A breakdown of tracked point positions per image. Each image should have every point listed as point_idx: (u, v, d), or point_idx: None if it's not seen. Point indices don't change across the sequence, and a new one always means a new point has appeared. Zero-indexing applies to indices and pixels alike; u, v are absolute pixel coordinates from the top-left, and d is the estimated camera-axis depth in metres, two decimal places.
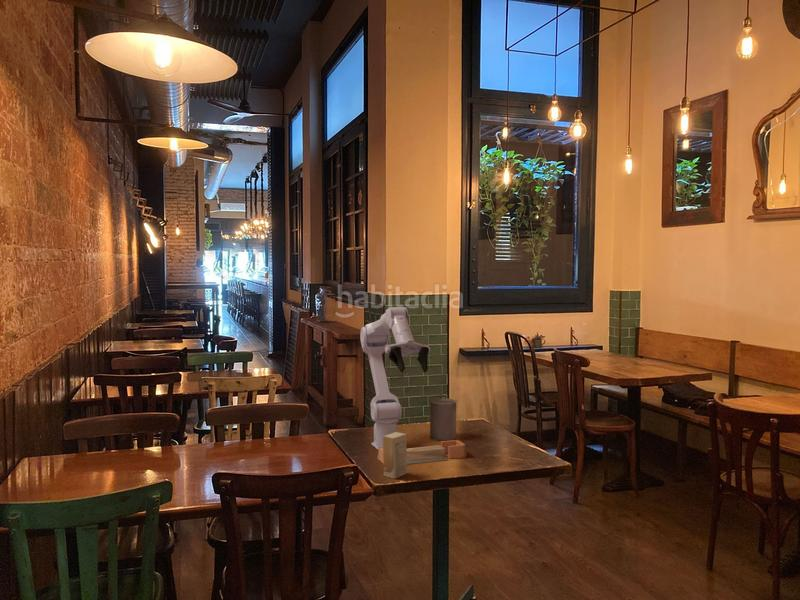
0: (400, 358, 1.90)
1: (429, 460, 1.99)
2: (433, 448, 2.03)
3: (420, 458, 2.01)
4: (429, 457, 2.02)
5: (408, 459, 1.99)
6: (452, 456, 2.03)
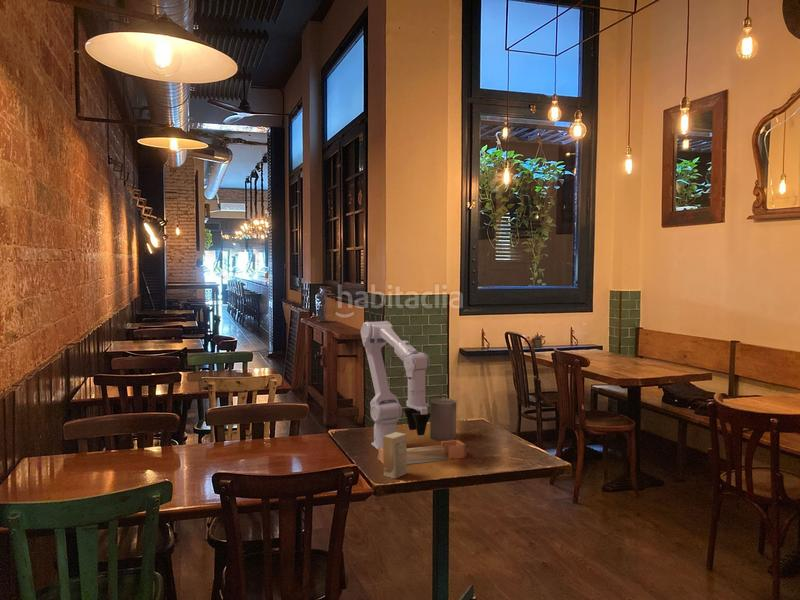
0: None
1: (429, 460, 1.99)
2: (433, 448, 2.03)
3: (420, 458, 2.01)
4: (429, 457, 2.02)
5: (408, 459, 1.99)
6: (452, 456, 2.03)
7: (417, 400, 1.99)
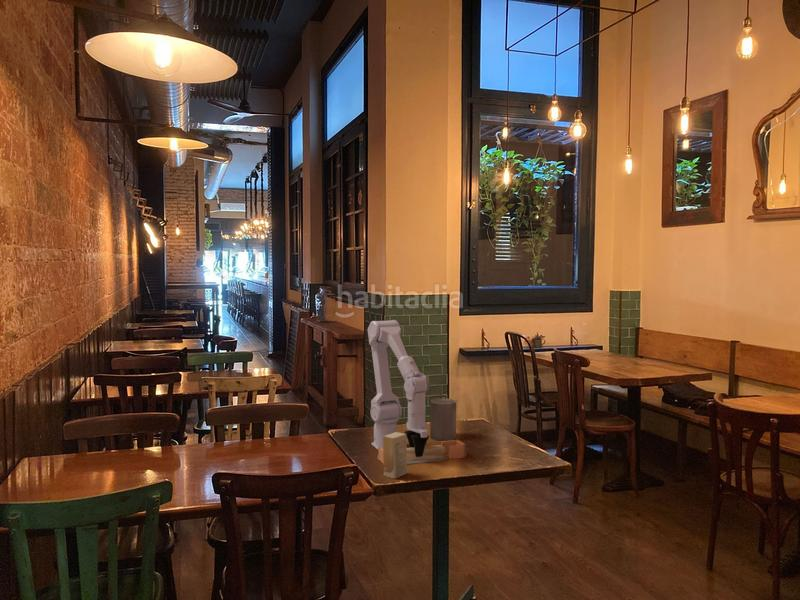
0: None
1: (429, 460, 1.99)
2: (433, 448, 2.03)
3: (420, 457, 2.01)
4: (429, 457, 2.02)
5: (408, 458, 2.00)
6: (452, 456, 2.03)
7: (417, 423, 1.99)
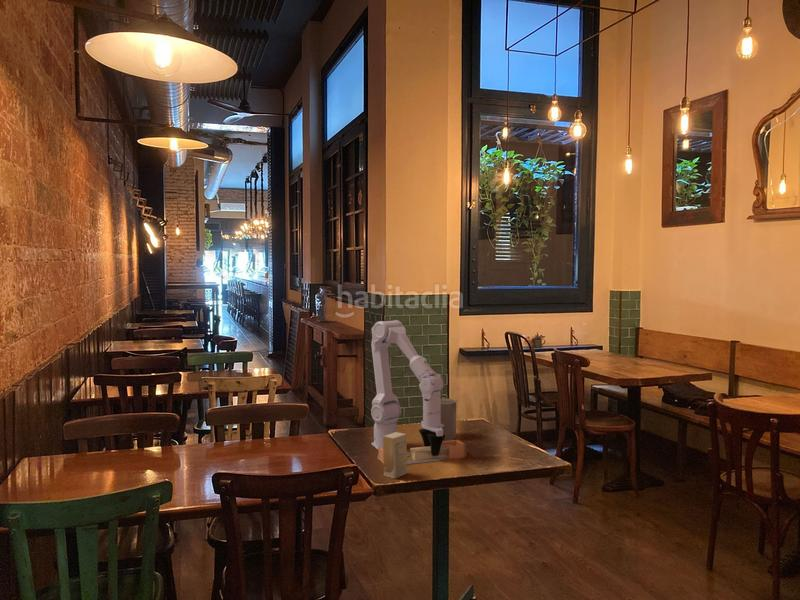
0: None
1: (429, 460, 1.99)
2: (443, 447, 2.04)
3: (430, 457, 2.02)
4: (439, 456, 2.03)
5: (418, 458, 2.01)
6: (452, 456, 2.03)
7: (432, 422, 2.01)
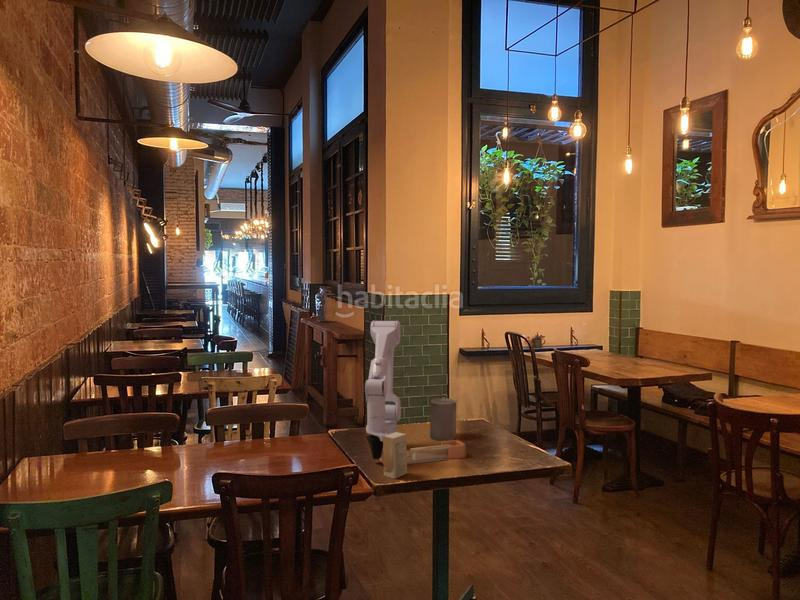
0: None
1: (429, 460, 1.99)
2: (443, 447, 2.05)
3: (431, 457, 2.02)
4: (439, 456, 2.03)
5: (419, 458, 2.00)
6: (452, 456, 2.03)
7: (376, 426, 1.95)
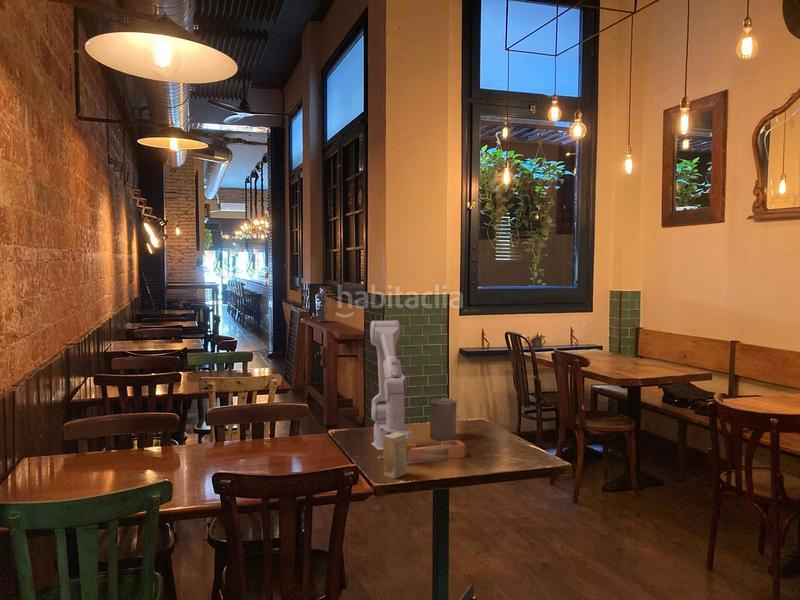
0: None
1: (429, 460, 1.99)
2: (443, 447, 2.05)
3: (431, 457, 2.02)
4: (439, 456, 2.03)
5: None
6: (452, 456, 2.03)
7: (398, 424, 1.97)
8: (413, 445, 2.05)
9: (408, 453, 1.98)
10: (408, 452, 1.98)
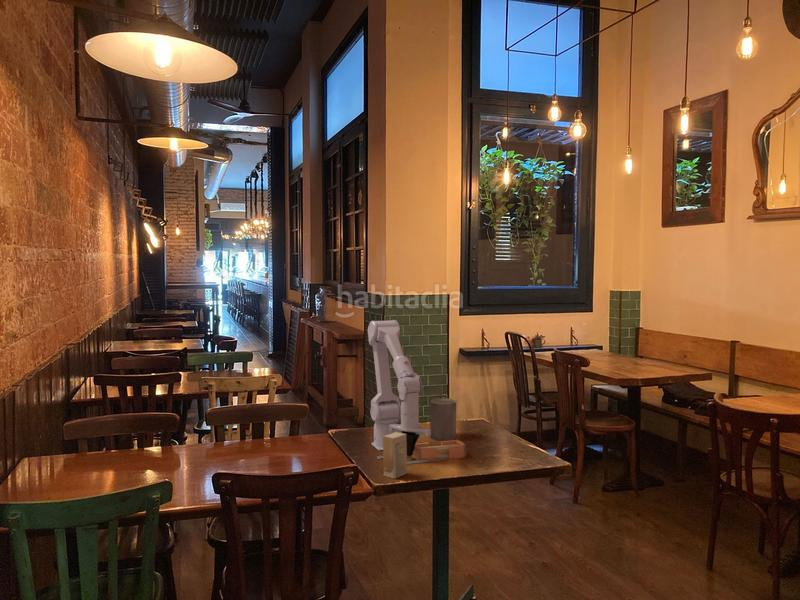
0: None
1: (429, 460, 1.99)
2: None
3: (436, 457, 2.02)
4: (445, 456, 2.03)
5: None
6: (452, 456, 2.03)
7: (415, 423, 1.99)
8: (426, 444, 2.07)
9: (422, 452, 1.99)
10: (422, 451, 1.99)
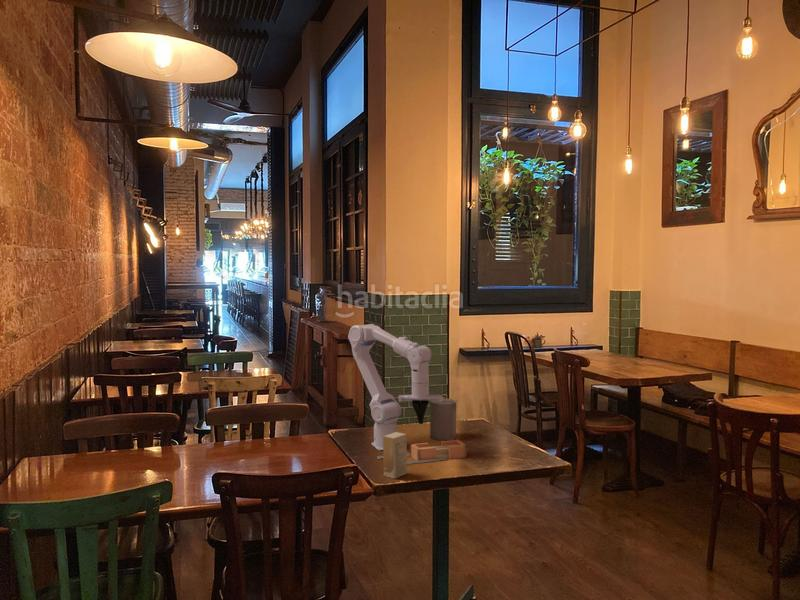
0: None
1: (429, 460, 1.99)
2: None
3: (437, 457, 2.02)
4: (446, 456, 2.03)
5: None
6: (452, 456, 2.03)
7: (428, 391, 2.06)
8: (426, 444, 2.06)
9: (421, 452, 1.99)
10: (421, 451, 1.99)
